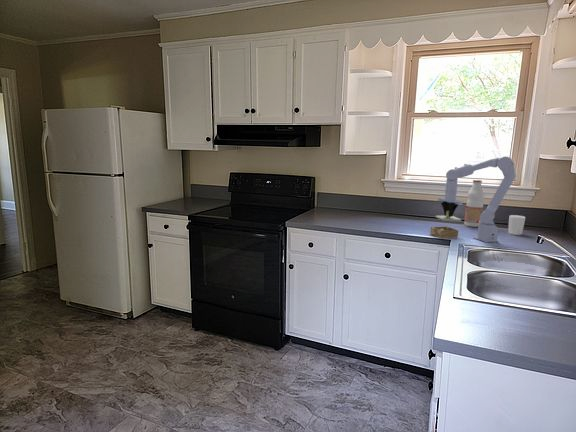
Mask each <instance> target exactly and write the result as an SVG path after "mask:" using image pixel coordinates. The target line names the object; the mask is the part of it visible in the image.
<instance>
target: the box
mask: <svg viewBox="0 0 576 432" xmlns="http://www.w3.org/2000/svg"><path fill="white" fill-rule="evenodd" d="M441 228H442V229H444V230H447V231H442V230H440V229H441ZM430 235H431V236H435V237H437V238H439V239H455V238H459V237H458V236H459V230H458V229H456V228H452V227H450V226H448V225H447V226H431V227H430Z"/></svg>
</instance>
